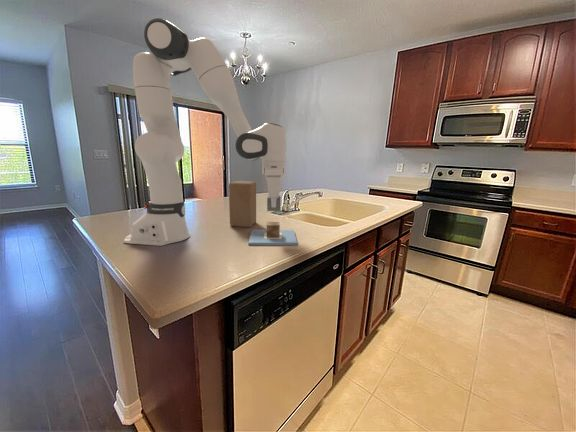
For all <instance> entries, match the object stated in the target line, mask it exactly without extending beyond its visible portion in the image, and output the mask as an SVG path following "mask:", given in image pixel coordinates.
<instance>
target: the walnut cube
mask: <svg viewBox="0 0 576 432" xmlns="http://www.w3.org/2000/svg"><path fill="white" fill-rule="evenodd" d="M280 225H281V224H280V221H267V222H266V230H267V238H279V234H280V230H281V226H280Z"/></svg>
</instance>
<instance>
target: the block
mask: <svg viewBox="0 0 576 432" xmlns="http://www.w3.org/2000/svg"><path fill="white" fill-rule="evenodd" d="M228 204H229V205H228V206H229V209H228V210H229V225H230V226H231V227H238V228H239V227H242V228H250V227H252V226H254V224H255V223H257V182H256V181H253V180H252V181H250V180H236V181H232V182H229V183H228Z"/></svg>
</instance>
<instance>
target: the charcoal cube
mask: <svg viewBox="0 0 576 432" xmlns="http://www.w3.org/2000/svg"><path fill="white" fill-rule="evenodd" d="M281 198H282V197H281V195H279V197H278V198H277V200H276V207H275V208H272V207H271V198H270V197H269V195H267V198H266V199H267V200H266V201H267V202H266V203H267V204H266V211H267V212H281V206H282V205H281V203H282V201H281Z"/></svg>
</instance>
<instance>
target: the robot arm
mask: <svg viewBox="0 0 576 432" xmlns="http://www.w3.org/2000/svg"><path fill="white" fill-rule="evenodd" d="M143 32H144V33H143V37H144V41H145V44H146V46H147V48H148V50H149V51H148V52H147V51H145V52H144V51H143V52H142V51H141V52H139V53H136V55H135V56H134V57H133V61H132V77H133V78H132V79H133V86H134V92H135V93H134V94H135V97H136V98H135V99H136V104H137V110H138V114H139V116H140V118H141V120H142V122H143V124H144V126H145V128H146V131H147V132H144V133H143V134H140V135H139V136H138V137H137V138H136V139H135V142H134V150H135V153H136V155H137V157H138V158H139V159H140V161H141V164H142V166H143V169H144V173H145V176H146V178H147V184H148V191H149V199H150V202H148V203H147V204H146V205H144V206H143V207H144V208H143V210H145V209H146V212H145V213H144V214H142V216H140V217H139V218H138V219H137V220H135V221H134V222H133V223H132V224H131V229H130V234H128V235H126V237H125V238H124V244H134V245H135V244H136V245H145V246H147V245H148V246H161V247H162V246H166V245H168V244H172V243H173V244H174V243H177V242H181V241H185V240H186V239H188V238H189V237H190V236H191V234H190V231H189V229H188V225H187V222H186V206H185V201H184V198H183V185H182V184H183V182H182V179H181V177H180V174H179V171H178V168H177V162H179V161H180V160H182V158H183V157H184V154H185V147H184V144H183V141H182V137H181V133H180V129H179V126H178V123H177V120H176V115H175V111H174V103H173V95H172V89H171V82H170V81H171V80H170V77H171V76H172V77H175V76H178V75H180V74H185V73H189V72H190V71H192V72H193V73H194V76H196V79H197V81H198V83H199V84H200V87H201V89H202V90H203V91H204V93H205V94H206V95H207V97H208V98H209V99H210V101H211V102H212V103H213V104H214V105H215V106H216V107H218V109H219V110H220V111H222V113H223V114H224V115H225V117H226V118H227V119H228V121H229V123H230V125H231V127H232V128H233V131H234V133H235V134H236V136H237V138H236V141H235V151H236V152H237V154H238V155H239V156H240V157H241V158H243V159H244V160H249V161H258V160H259V159H261V171H262V172H261V174H262V175H264V176H265V179H266V185H267V196H269V197H270V198H271V207H272V208H275V207H276V200H277V198H278V197H279V196H280V193H281V192H280V191H281V183H282V179H283V176H284V175H286V172H287V171H286V170H287V166H286V165H287V164H286V162H287V161H286V151H287V136H286V131H285V128H284V127H283V126H282V125H281V124H276V123H272V122H265V123H263V124H262V125H261V126H259V127H257V128H255V129H252V127H251V125H250V123H249V121H248V119H247V117H246V115H245V113H244V111H243V108H242V106H241V103H240V100H239V95H238V92H237V87H236V84H235V80H234V78H233V75H232V72H231V71H230V68H229V67H228V64H227V62H226V61H225V59H224V57H223V56H222V54H221V53H220V51H219V49H218V48H217V47H216V45H215V44H214V43H213V41H212V40H210V39H208V38H207V37H199V38H196V39H194V40H193V39H192V40H191V39H189V38H188V34H186V33H185V32H184V31H183V30H181V29H180V28H179V27H178V26H176V25H175V24H173V23H172V22H170V21H168V20H166V19H164V18H158V17H157V18H153V19H151V20H150V21H148V22H147V23H146V25H145V27H144V31H143Z"/></svg>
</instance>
